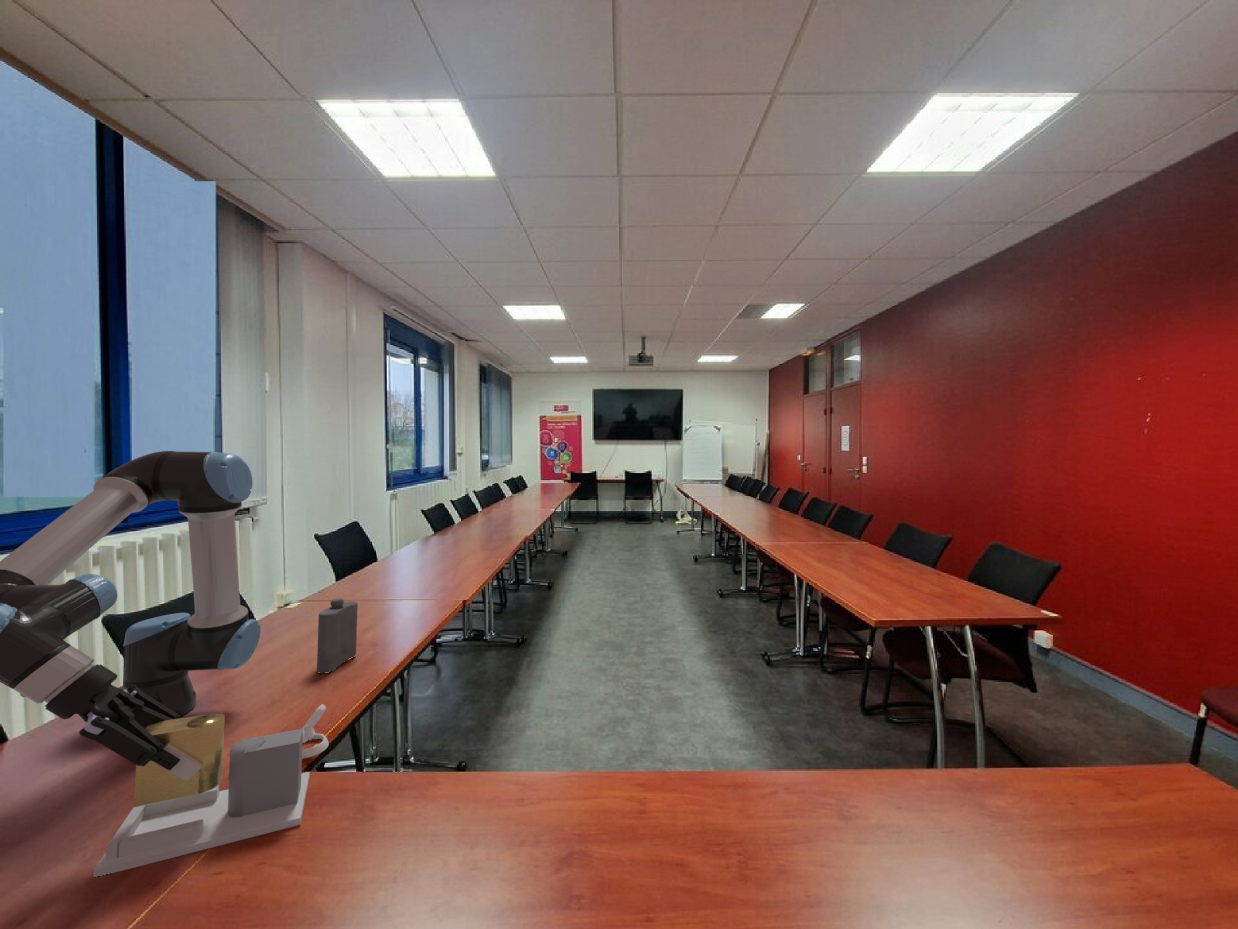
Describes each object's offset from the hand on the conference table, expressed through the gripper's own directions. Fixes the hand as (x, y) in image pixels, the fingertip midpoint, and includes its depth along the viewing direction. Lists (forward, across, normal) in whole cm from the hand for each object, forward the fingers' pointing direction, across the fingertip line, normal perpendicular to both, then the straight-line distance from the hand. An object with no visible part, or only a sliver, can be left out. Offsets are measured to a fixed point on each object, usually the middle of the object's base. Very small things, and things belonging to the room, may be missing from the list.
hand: (200, 763), depth 83 cm
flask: (+19, -67, +4) cm, 70 cm away
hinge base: (+9, 0, -6) cm, 11 cm away
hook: (+18, -19, +2) cm, 26 cm away
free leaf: (+1, 0, -4) cm, 4 cm away
